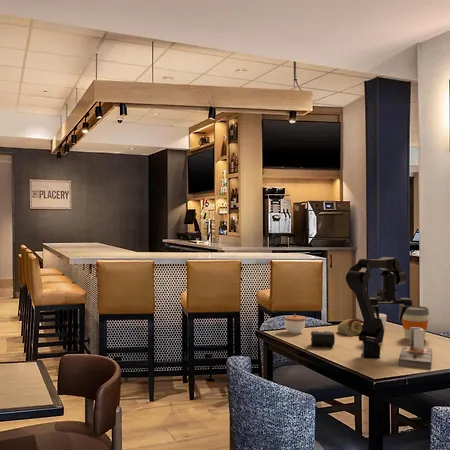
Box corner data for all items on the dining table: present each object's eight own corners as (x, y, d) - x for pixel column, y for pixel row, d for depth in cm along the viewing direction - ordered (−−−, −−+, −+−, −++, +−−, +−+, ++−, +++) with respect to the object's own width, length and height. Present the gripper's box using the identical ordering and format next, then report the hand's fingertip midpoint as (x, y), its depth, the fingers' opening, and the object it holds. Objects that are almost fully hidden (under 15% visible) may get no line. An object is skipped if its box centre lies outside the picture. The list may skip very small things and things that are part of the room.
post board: (430, 368, 213) (431, 353, 213) (398, 365, 218) (398, 350, 218) (432, 354, 236) (432, 340, 236) (402, 351, 240) (402, 338, 240)
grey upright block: (414, 351, 230) (414, 329, 230) (409, 348, 235) (410, 327, 235) (423, 351, 230) (423, 329, 230) (419, 348, 235) (419, 327, 235)
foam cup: (361, 341, 260) (361, 313, 260) (377, 339, 264) (377, 312, 263) (374, 345, 251) (374, 317, 251) (390, 343, 255) (390, 315, 255)
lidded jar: (288, 329, 286) (288, 311, 286) (308, 331, 282) (308, 313, 281) (281, 333, 276) (281, 314, 276) (301, 335, 272) (302, 316, 272)
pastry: (358, 337, 269) (358, 321, 269) (333, 334, 275) (334, 318, 275) (366, 332, 281) (366, 316, 281) (342, 329, 287) (342, 314, 287)
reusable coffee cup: (414, 342, 258) (414, 310, 258) (395, 337, 270) (395, 306, 269) (434, 340, 263) (434, 308, 263) (415, 334, 275) (415, 305, 274)
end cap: (312, 348, 246) (312, 333, 246) (310, 344, 253) (310, 329, 253) (334, 348, 246) (334, 333, 246) (331, 344, 253) (331, 330, 253)
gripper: (405, 283, 249) (405, 318, 249) (363, 283, 249) (363, 317, 250) (412, 287, 237) (412, 323, 238) (369, 286, 238) (368, 322, 239)
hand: (388, 321), depth 241 cm, fingers open, 9 cm apart
